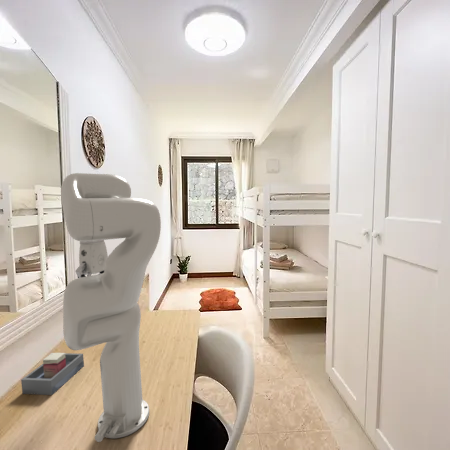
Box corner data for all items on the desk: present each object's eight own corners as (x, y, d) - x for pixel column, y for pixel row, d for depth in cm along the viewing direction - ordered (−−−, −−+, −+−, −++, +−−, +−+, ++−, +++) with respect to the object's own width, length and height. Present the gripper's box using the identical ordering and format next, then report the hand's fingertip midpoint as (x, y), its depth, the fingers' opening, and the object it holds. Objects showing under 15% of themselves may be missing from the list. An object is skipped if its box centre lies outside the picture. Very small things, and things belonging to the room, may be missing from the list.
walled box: (52, 395, 80) (50, 380, 80) (22, 393, 82) (21, 379, 81) (84, 365, 95) (83, 353, 95) (58, 365, 96) (57, 353, 96)
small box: (44, 383, 86) (41, 359, 86) (53, 374, 91) (51, 352, 90) (58, 383, 86) (56, 359, 86) (67, 374, 90) (65, 352, 90)
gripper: (86, 242, 82) (90, 296, 83) (115, 236, 99) (118, 281, 100) (63, 243, 83) (68, 296, 84) (96, 237, 100) (100, 281, 101)
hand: (95, 288), depth 92 cm, fingers open, 9 cm apart
